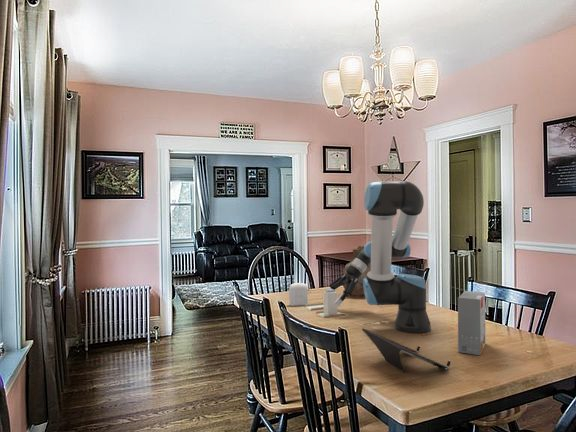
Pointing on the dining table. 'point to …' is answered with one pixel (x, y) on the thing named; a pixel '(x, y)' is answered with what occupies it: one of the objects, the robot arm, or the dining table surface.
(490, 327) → the dining table surface
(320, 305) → the dock board
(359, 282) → the jug
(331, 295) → the white rectangular box
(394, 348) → the portable electronic device stand
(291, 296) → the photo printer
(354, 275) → the robot arm
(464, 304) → the hard drive box
